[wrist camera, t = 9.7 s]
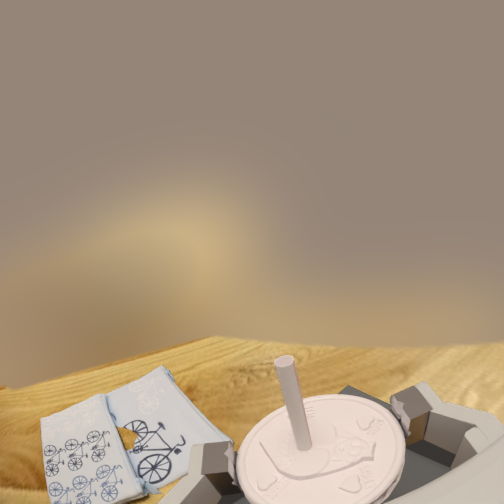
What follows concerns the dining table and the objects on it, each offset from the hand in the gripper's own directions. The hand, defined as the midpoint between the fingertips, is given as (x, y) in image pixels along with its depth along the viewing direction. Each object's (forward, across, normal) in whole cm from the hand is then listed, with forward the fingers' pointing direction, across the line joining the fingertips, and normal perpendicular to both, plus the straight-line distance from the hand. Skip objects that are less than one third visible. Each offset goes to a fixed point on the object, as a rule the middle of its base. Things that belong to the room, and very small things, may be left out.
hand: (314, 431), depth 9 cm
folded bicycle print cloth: (+12, +19, +12) cm, 25 cm away
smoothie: (-1, 0, +10) cm, 10 cm away
